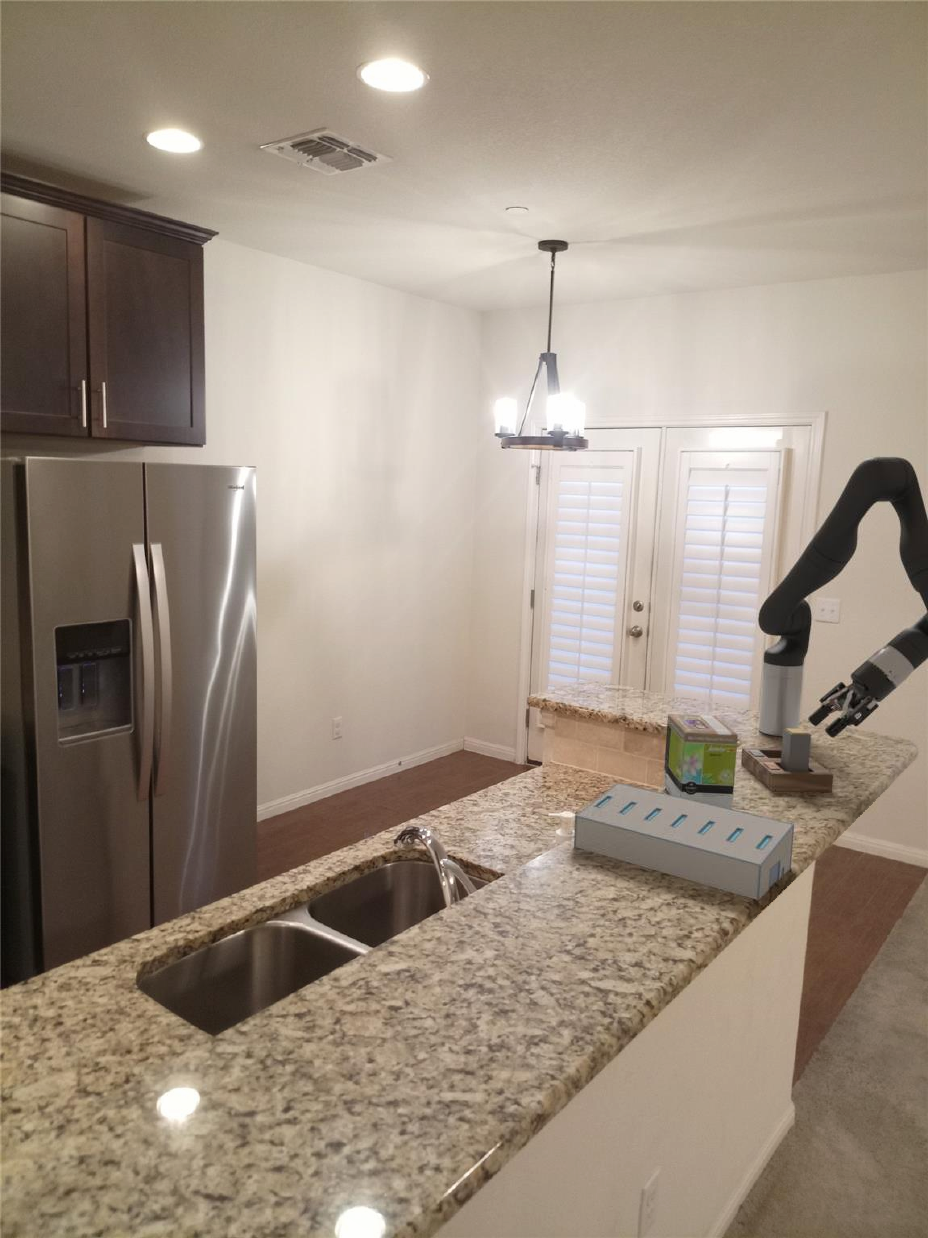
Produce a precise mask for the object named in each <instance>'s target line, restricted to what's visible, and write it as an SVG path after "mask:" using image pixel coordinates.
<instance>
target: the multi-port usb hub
mask: <svg viewBox="0 0 928 1238" xmlns="http://www.w3.org/2000/svg"><path fill="white" fill-rule="evenodd" d="M794 828H795V824H794V823H792V822H788V821H783V820H780V819H775V818H772V817H771V818H770V817H766V816H762V815H758V814H754V813H749V812H744V811H741V810H737V809H733V808H732V809H728V808H724V807H720V806H716V805H711V804H707V803H703V802H699V801H694V800H690V799H686V798H682V797H677V796H673V795H670V794H669V793H663V792H660V791H655V790H651V789H648V788H644V787H643V788H642V787H639V786H634V785H630V784H626V783H622V782H617V783H616V784H614V785H613V786H612V787H610V788H608V789H607V791H606V790H605V792H604V793H602V794H601V795H600V796H599V797H598V798H596V799H595V800H593V801H592V802H591V803H589V804H588V805H587V806H585V808H583V809H582V810H581V811H579V812H578V813H576V814H575V817H574V835H573V836H574V837H573V838H574V840H573V847H574V848H578V849H581V850H585V851H589V852H591V853H594V854H598V855H602V856H605V857H609V858H611V859H616V860H619V861H623V862H625V863H629V864H632V865H636V866H639V867H642V868H646V869H650V870H654V871H656V872H660V873H664V874H667V875H671V876H673V877H677V878H681V879H683V880H687V881H691V882H694V883H698V884H702V885H705V886H707V887H711V888H714V889H718V890H721V891H725V892H729V893H732V894H735V895H739V896H743V897H746V898H749V899H752V900H756V901H759V900H760V899H761V898H762V897H763V896H764V895H765V894H766V893H767V892H768V891H769V890H770V888H771V887H772V886H773V885H774V884H775V883H776V882H777V881H780V879H781V878H782V877H783V876H785V875H786V873H787V872H788V871H790V870H791V868H792V856H793V855H792V854H793V843H794V832H795V831H794Z"/></svg>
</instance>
